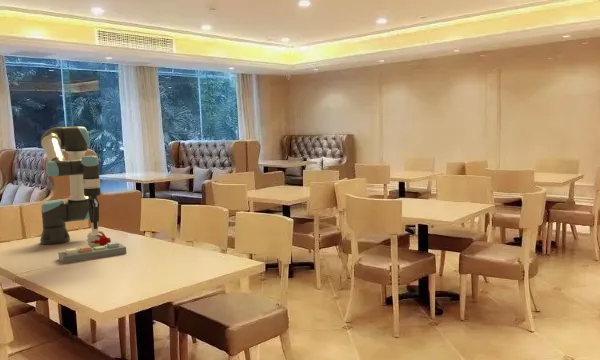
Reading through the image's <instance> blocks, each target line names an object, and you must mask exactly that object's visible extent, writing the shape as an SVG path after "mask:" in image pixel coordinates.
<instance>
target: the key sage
mask: <svg viewBox="0 0 600 360" xmlns="http://www.w3.org/2000/svg"><path fill="white" fill-rule="evenodd" d="M104 246H105V245H104ZM104 246H98V247H94V250H95V251H96V250H102V249H105V247H104Z"/></svg>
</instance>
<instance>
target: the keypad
mask: <svg viewBox="0 0 600 360" xmlns="http://www.w3.org/2000/svg"><path fill="white" fill-rule="evenodd" d="M118 243H119V242H118ZM104 247H105V249H102V250H96V251H95V250H94V247H93V248H92V247H91V249H92V251H89V252H83V253H81V252H80V249H77V253H76V254H70V255H66V252H65V251H62V252H58V260H59V261H60V262H61V263H63V264H70V263H76V262H82V261H88V260H93V259H95V260H96V259H101V258H106V257H113V256H117V255H118V256H119V255H124V254H127V246H125V245H123V244H121V243H119V247H115V248H108V247H107V244H106V245H104Z"/></svg>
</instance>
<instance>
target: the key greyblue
mask: <svg viewBox="0 0 600 360" xmlns="http://www.w3.org/2000/svg"><path fill="white" fill-rule="evenodd" d="M106 245H107V247H108V248H115V247H119V242H117V241H114V242H113V241H111V242H110V243H107V244H106Z"/></svg>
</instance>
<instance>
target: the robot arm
mask: <svg viewBox="0 0 600 360" xmlns="http://www.w3.org/2000/svg"><path fill="white" fill-rule="evenodd" d="M90 139H91V138H90V135H89V132H88V130H87V128H86V127H85V126H79V125H78V126H77V125H76V126H55V127H52V128H50V129H48V130H46V131H45V132H43V134H42V136H41V138H40V144H41V148H42V149H44V150H45V154H46V157H47V161H46V163H45V170H46V171H45V172H46V175H47V176H48V177H66V176H69V192H70V195H69V196H68V197H67V201H65V200H64V199H61V198H60V199H54V200H50V201H46V202H43V203H42V204H41V210H40V211H41V219H42V221H41V222H42V232H41V236H40V238H39V239H40V240H39V241H40V245H57V244H58V245H59V244H63V243H64V244H65V243H68V242H70V241H71V236H70V233H69V231H68V229H67V226H66V223H70V222H81V221H88V220H89V221H90V224H91V225H90V227H91V231H92V236H95V235H99V234H98V231H99V222H100V202H99V199H98V196H101V195H102V194H101V193H102V192H101V191H102V190H101V179H100V166H99V164H100V162H99V157H98V155H85V154H86V153H87V151H88V148H90V147H91V141H90ZM62 149H64V152H66V153H67V157H68V159H67V160H66V158H65V156H64V152H63V150H62Z"/></svg>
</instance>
